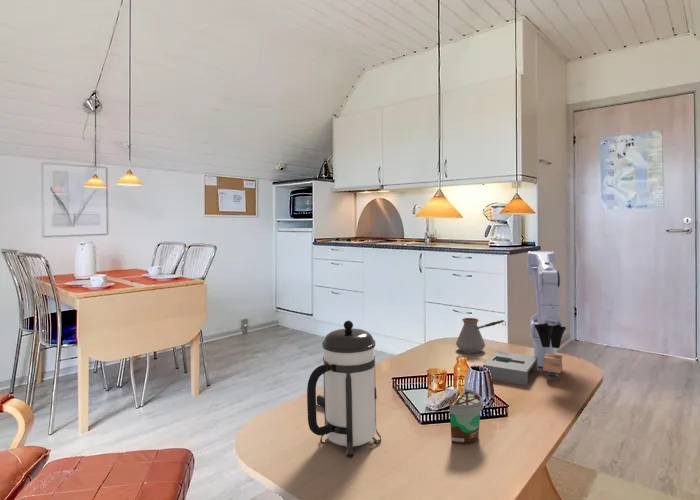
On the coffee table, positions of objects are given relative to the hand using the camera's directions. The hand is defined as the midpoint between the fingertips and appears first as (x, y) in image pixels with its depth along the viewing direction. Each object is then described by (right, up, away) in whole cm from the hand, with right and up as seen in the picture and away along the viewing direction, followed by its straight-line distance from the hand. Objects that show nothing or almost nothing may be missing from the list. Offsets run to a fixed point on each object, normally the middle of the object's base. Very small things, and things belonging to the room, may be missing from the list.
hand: (550, 347), depth 148 cm
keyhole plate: (-10, -11, +8) cm, 17 cm away
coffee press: (-67, -15, -39) cm, 79 cm away
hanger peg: (+1, -11, +2) cm, 11 cm away
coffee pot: (-14, -9, +32) cm, 36 cm away
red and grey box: (-67, -14, -13) cm, 70 cm away
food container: (-37, -14, -37) cm, 54 cm away
